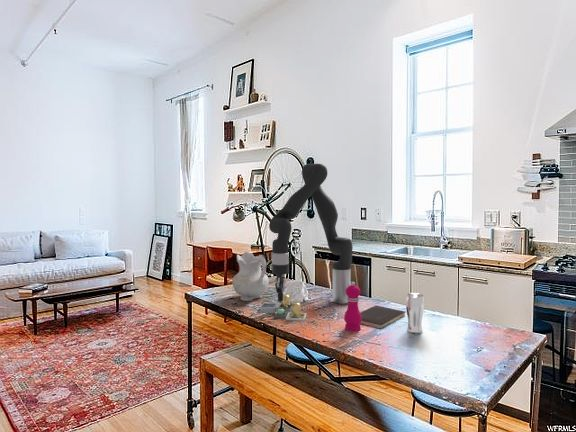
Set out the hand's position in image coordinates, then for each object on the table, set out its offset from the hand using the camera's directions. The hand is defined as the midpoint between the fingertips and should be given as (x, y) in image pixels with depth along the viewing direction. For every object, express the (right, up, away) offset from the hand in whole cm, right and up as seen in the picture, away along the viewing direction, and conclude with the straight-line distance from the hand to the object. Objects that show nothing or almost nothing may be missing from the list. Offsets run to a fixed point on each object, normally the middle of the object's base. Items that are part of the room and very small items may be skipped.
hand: (280, 300), depth 180 cm
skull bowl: (+8, -7, +27) cm, 29 cm away
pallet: (-2, -8, +11) cm, 14 cm away
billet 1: (+2, -7, +10) cm, 12 cm away
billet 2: (+7, -8, 0) cm, 11 cm away
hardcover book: (+44, -9, +2) cm, 45 cm away
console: (0, -8, +1) cm, 8 cm away
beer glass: (+55, -9, -15) cm, 58 cm away
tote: (+7, -8, 0) cm, 11 cm away
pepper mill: (+30, -9, -12) cm, 34 cm away
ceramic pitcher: (-16, -6, +35) cm, 39 cm away
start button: (0, -6, +1) cm, 6 cm away
